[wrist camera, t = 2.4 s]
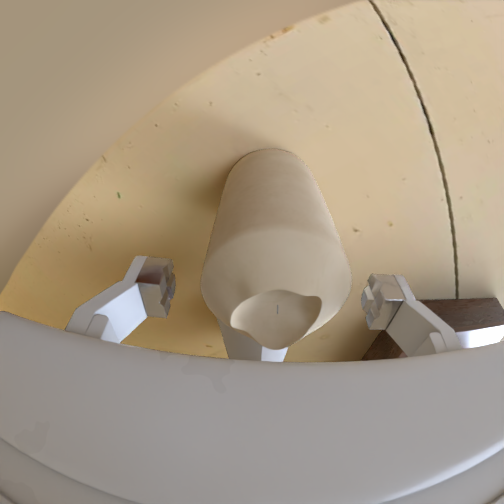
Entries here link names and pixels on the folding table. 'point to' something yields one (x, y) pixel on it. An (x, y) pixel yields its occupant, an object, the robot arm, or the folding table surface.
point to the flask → (247, 347)
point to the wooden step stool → (452, 325)
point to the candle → (274, 252)
